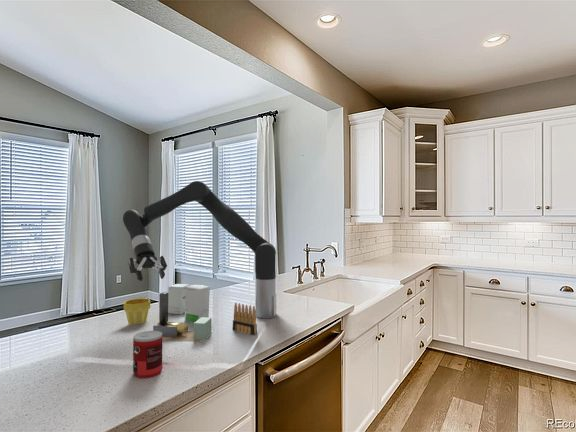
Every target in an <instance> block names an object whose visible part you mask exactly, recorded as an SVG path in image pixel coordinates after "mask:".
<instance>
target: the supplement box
mask: <svg viewBox="0 0 576 432" xmlns="http://www.w3.org/2000/svg"><path fill="white" fill-rule="evenodd" d="M187 286H190V284H188V283H175V284H172V285H170V286H168V288H167V289H168V290H167V291H168V292H167V293H168V314H172V315H173V314H175V315H183V314H185V302H186V287H187Z"/></svg>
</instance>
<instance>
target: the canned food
mask: <svg viewBox="0 0 576 432" xmlns="http://www.w3.org/2000/svg"><path fill="white" fill-rule="evenodd" d="M132 338H133V339H132V372H133V375H134V377H136V378H138V379H139V378H140V379H148V378H154V377H155V376H157V375H160V374H161V372H162V369H163V340H162V333H161V332H159V331H153V330H145V331H141V332H137V333H136V334H134V335H133V337H132Z"/></svg>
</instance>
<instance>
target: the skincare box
mask: <svg viewBox="0 0 576 432" xmlns="http://www.w3.org/2000/svg"><path fill="white" fill-rule="evenodd" d="M210 291H211V287H210V286H207V285H202V284H196V283H195V284H191V285H189V286H187V287H186V302H185V312H184V321H185V322H190V323H191V322H192V323H194V322H196V321H197V320H198V319H200V318H201V317H208V318H210V317H209V316H210V315H209V313H210V293H211V292H210Z"/></svg>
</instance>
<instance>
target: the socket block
mask: <svg viewBox="0 0 576 432" xmlns="http://www.w3.org/2000/svg"><path fill="white" fill-rule="evenodd" d="M193 331H194V340H204V341H205V340H206V339H207V338H209V336H210V335H212V333H211V332H212V317H209V318H208V317H201V318H200V319H198V320H197V321H196V322H193Z"/></svg>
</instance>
